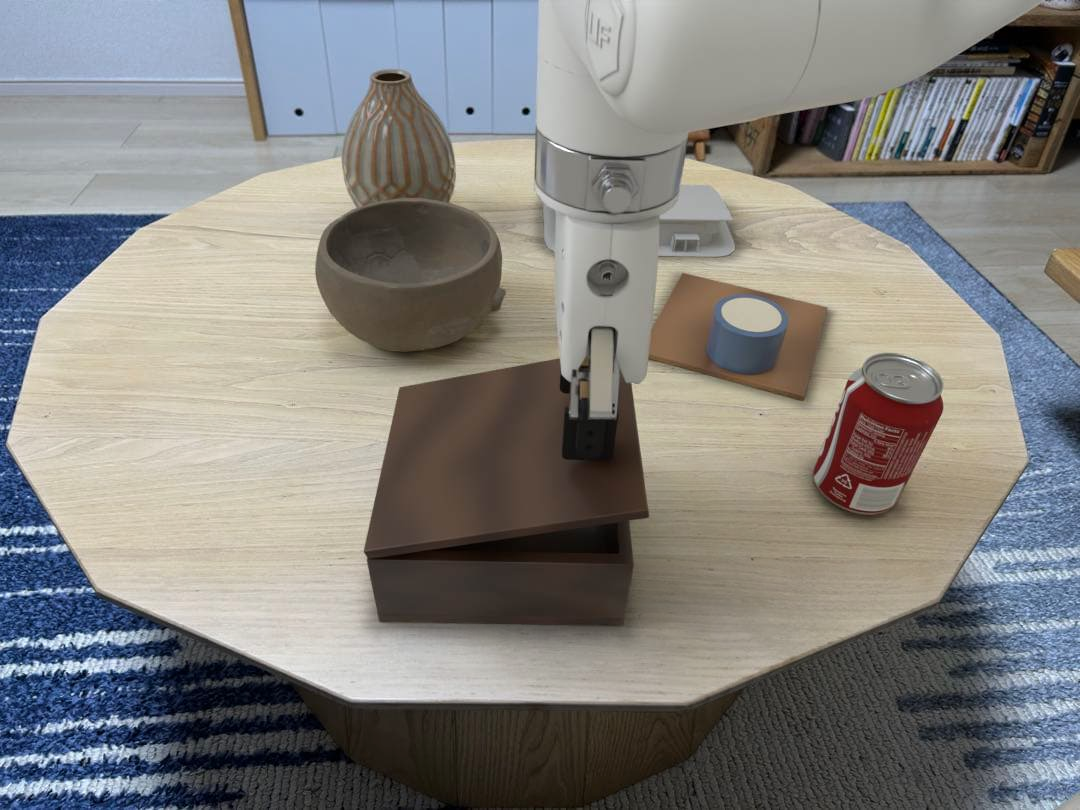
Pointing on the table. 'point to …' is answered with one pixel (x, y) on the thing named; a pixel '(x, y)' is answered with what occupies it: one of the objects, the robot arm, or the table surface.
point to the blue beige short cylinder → (746, 334)
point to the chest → (511, 580)
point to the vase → (396, 145)
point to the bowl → (410, 272)
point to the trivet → (688, 327)
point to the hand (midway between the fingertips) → (584, 420)
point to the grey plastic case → (682, 225)
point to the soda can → (879, 433)
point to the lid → (497, 464)
